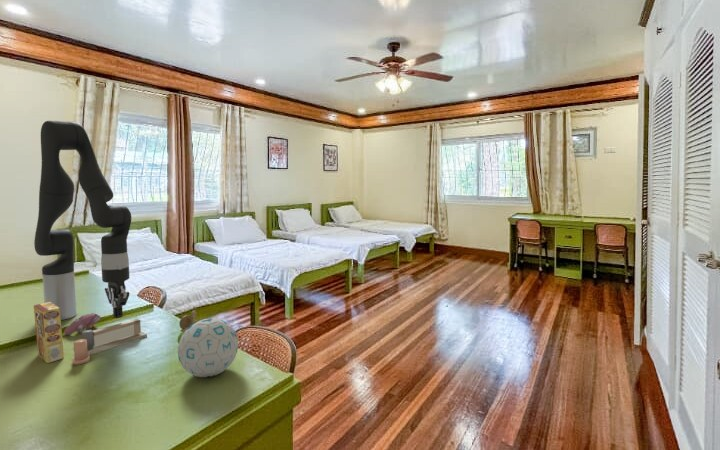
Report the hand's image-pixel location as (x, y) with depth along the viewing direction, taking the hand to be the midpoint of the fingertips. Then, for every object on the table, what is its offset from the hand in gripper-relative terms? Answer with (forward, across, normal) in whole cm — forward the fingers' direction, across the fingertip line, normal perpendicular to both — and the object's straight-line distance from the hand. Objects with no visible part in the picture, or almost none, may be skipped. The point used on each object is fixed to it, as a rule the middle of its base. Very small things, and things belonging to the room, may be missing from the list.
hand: (118, 317), depth 122 cm
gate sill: (+7, +6, -4) cm, 9 cm away
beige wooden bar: (+5, +6, -4) cm, 9 cm away
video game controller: (+7, -15, -5) cm, 17 cm away
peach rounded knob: (+7, +11, -14) cm, 19 cm away
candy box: (+7, 0, -18) cm, 20 cm away
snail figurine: (+7, +26, +9) cm, 28 cm away
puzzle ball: (+7, +46, +4) cm, 46 cm away
